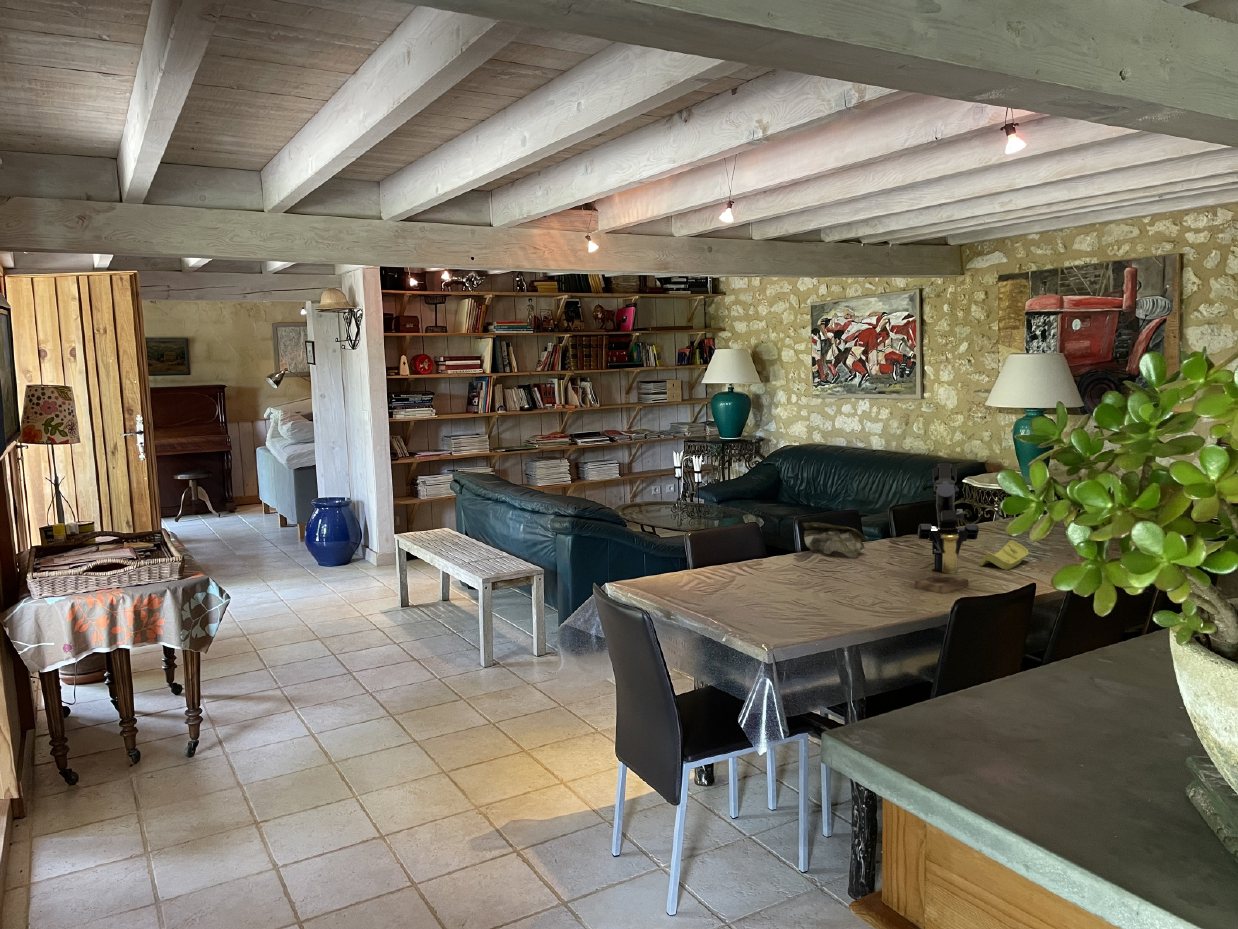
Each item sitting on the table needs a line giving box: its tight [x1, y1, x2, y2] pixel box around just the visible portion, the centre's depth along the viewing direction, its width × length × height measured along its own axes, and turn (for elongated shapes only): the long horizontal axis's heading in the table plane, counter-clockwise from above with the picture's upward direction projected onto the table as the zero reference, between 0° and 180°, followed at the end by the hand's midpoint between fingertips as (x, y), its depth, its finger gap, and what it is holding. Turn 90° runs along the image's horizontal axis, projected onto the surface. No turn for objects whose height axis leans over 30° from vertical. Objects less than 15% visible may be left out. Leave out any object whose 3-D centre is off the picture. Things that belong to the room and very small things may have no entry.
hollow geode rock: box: [802, 521, 869, 559], centre depth 360 cm, size 28×13×15 cm
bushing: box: [940, 533, 959, 574], centre depth 296 cm, size 6×6×12 cm
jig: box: [914, 573, 969, 594], centre depth 302 cm, size 11×14×2 cm
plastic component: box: [978, 540, 1029, 571], centre depth 333 cm, size 20×7×10 cm
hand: (950, 553), depth 295 cm, fingers closed on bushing, 5 cm apart
